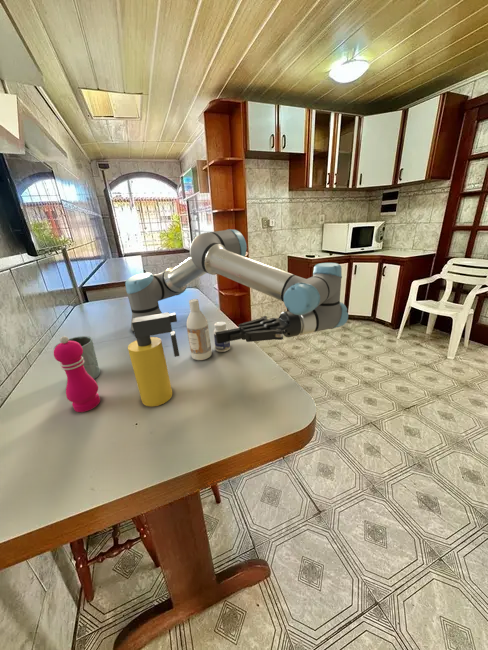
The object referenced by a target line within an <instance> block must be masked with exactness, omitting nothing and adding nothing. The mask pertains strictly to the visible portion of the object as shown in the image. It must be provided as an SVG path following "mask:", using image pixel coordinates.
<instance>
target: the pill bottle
mask: <svg viewBox="0 0 488 650" xmlns="http://www.w3.org/2000/svg"><path fill="white" fill-rule="evenodd" d="M225 330H229V329H228V327H227V322H225V321H217V322H215V323H214V329H213V340H214V348H215V350H216V352H219V353H224V352H228V351H229V350H231V341H228V342H223V343H217V340H216V332H220V331H225Z"/></svg>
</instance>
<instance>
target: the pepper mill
mask: <svg viewBox="0 0 488 650" xmlns="http://www.w3.org/2000/svg"><path fill="white" fill-rule="evenodd" d="M69 339H70V338H69V337H68V336H65V335H63V336H61V337H60V338H59V343H60V342H61V343H60V344H59V343H57V344H58V345H57V344H56V345H57V346H56V345H55V346H56V347H55V346H54V347H55V349H54V348H53V357H54V359H55V360H56V361H57V362H58V363H59V365H60V367H61V370H63V371H64V370H65V371H64V373H65V376H66V379H67V381H66V382H67V383H66V387H65V395H66V399H67V400H68V401H69V402H71V403H72V404H71V405H72V409H73V410H74V412H77V413H85V412H88V411H91V410H93V409H95V408H96V407H97V406H98V405H99V404H100V402H101V397H100V395H99V393H98V391H99V385H98V382H97V381H96V379H93V378H92V377H91V376H90V375H89V374H88V373H87V372H86V370H85V368H84V365H83V364H84V360H83V357H82V356H81V355H82V353H83V348H82V346H81V345H80V344H79V343H78V342H76V341H69ZM60 362H61V363H60Z"/></svg>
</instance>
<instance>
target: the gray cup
mask: <svg viewBox="0 0 488 650" xmlns="http://www.w3.org/2000/svg"><path fill="white" fill-rule="evenodd" d="M68 339H69V341H76V342H78V343H79V344H80V345H81V346H82V348H83V353H82V355H81V356H82V357H83V360H84V364H83V365H84V368H85V370H86V372H87V373H88V374H89V375H90V376H91V377H92V378H93V379H94V380H96V378H98V377H99V376H100V374H101V370H100V367H99V363H98V359H97V354H96V350H95V345H94V340H93V338H92V337H91V336H90V335H89V336H88V335H79V336H75V337H71V338H68ZM60 343H61V342H60V341H59V343H57V344H56V345H54V346H53V350H54V349H55V347H56V346H57V345H58V344H60ZM60 363H61V362H59V364H60ZM63 371H64V372H65V370H63Z"/></svg>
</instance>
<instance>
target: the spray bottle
mask: <svg viewBox="0 0 488 650" xmlns="http://www.w3.org/2000/svg"><path fill="white" fill-rule="evenodd" d="M131 320H132V319H131ZM177 322H178V318H177V314H176V312H171V313H169V312H168V311H167V312H162V313H161V314H155V315H148V316H142V317H136V318H133V320H132V326H133V330H134V332H133V333H134V334H133V335H134V337H135V339H136V340H134V341H132V342H130V343H129V344H128V345H127V350H128V354H129V355H128V356H129V358H130V362H131V366H132V369H133V373H134V376H135V381H136V384H137V388H138V392H139V397H140V400H141V403H142V404H143V406H146V407H158V406H161V405H164V404H165V403H167V402H168V401H169V400H171V398H172V397H173V389H172V384H171V380H170V379H171V378H170V375H169V370H168V365H167V360H166V355H165V351H164V346H163V342H162V339H161V338H160V337H156V335H162V334H167V333H168V334H169V333H170V332H172V331H173V328H172V323H177Z"/></svg>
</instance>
